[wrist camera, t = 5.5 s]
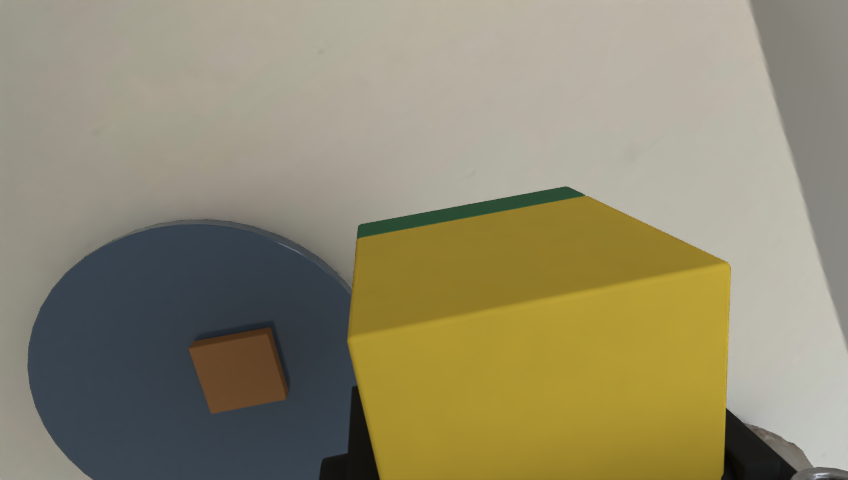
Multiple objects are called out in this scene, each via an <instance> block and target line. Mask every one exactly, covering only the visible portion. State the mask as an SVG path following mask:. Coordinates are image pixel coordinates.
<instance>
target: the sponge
mask: <svg viewBox="0 0 848 480" xmlns="http://www.w3.org/2000/svg"><path fill="white" fill-rule="evenodd" d="M730 278H731V267H730V264H729V263H728V262H726V261H724V260H722V259H720V258H717V257H715V256H713V255H711V254H709V253H707V252H705V251H703V250H701V249H698V248H696V247H694V246H692V245H690V244H688V243H686V242H684V241H682V240H679V239H677V238H675V237H673V236H671V235H669V234H667V233H665V232H663V231H661V230H658V229H656V228H654V227H652V226H650V225H648V224H646V223H644V222H642V221H639V220H637V219H635V218H633V217H631V216H629V215H627V214H625V213H623V212H620V211H618V210H616V209H614V208H612V207H610V206H608V205H606V204H604V203H601V202H599V201H597V200H595V199H593V198H591V197H589V196H585V195H584V194H582V193H580V192H578V191H576V190H574V189H572V188H569V187H560V188H555V189H549V190H544V191H538V192H533V193H528V194H522V195H517V196H511V197H506V198H501V199H495V200H490V201H484V202H479V203H474V204H468V205H463V206H457V207H452V208H447V209H441V210H436V211H430V212H425V213H419V214H414V215H409V216H403V217H398V218H392V219H387V220H382V221H376V222H371V223H365V224H361V225H359V226H358V233H357V242H356V252H355V263H354V274H353V284H352V295H351V306H350V316H349V327H348V338H347V343H348V347H349V352H350V356H351V360H352V364H353V368H354V373H355V377H356V381H357V385H358V389H359V394H360V398H361V402H362V406H363V410H364V415H365V419H366V423H367V427H368V431H369V436H370V440H371V444H372V448H373V452H374V457H375V461H376V465H377V469H378V473H379V478H380V480H721V477H722V475H723V474H724V446H725V418H726V390H727V362H728V334H729V306H730Z"/></svg>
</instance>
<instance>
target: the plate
mask: <svg viewBox="0 0 848 480" xmlns="http://www.w3.org/2000/svg"><path fill="white" fill-rule="evenodd" d="M351 295H352V289H351V288H350V287H349V285H348V284H347V283H346V282H345V281H344V280H343V279H342V278H341V277H340V276H339V275H338V273H337V272H336V271H334V270H333V269H332V268H331V267H330V266H328V265H327V264H326V263H325V262H324V261H323V260H321V259H320V258H319V257H317V256H316V255H314V254H313V253H311V252H310V251H308V250H307V249H305V248H303V247H302V246H300V245H298V244H296V243H294V242H292V241H290V240H288V239H286V238H284V237H282V236H280V235H278V234H275V233H272V232H269V231H266V230H263V229H260V228H257V227H254V226H249V225H244V224H240V223H235V222H229V221H218V220H208V219H205V220H180V221H173V222H166V223H160V224H155V225H152V226H148V227H145V228H141V229H138V230H135V231H132V232H130V233H128V234H125V235H123V236H121V237H119V238H116V239H114V240H112V241H110V242H109V243H107V244H105V245H104V246H102V247H100V248H99V249H97V250H96V251H94V252H92V253H91V254H89V255H87V256H86V257H84V258H83V259H82V260H81V261H79V262H78V263H77V264H76V265H75V266H73V267H72V268H71V269H70V270H69V271H68V272H67V273H66V274H65V275H64V276H63V277H62V278H61V279H60V281H59V282H58V283H57V284H56V285H55V286H54V287H53V289H52V290H51V292H50V293H49V295H48V297H47V298H46V300H45V301H44V303H43V305H42V306H41V308H40V311H39V313H38V316H37V318H36V321H35V323H34V326H33V329H32V334H31V338H30V343H29V348H28V375H29V384H30V389H31V393H32V396H33V400H34V403H35V407H36V409H37V411H38V414H39V416H40V418H41V420H42V422H43V425H44V426H45V428H46V429H47V431H48V433H49V434H50V436H51V437H52V439H53V440H54V442H55V443H56V445H57V446H58V447H59V448H60V449H61V450H62V452H63V453H64V454H65V455H66V456H67V458H68V459H69V460H70V461H71V462H73V463H74V464H75V465H76V466H77V467H78V468H79V469H80V470H81V471H82V472H83V473H85V474H86V475H87V476H89V477H90V478H92V479H93V480H319V475H320V467H321V463H322V460H323V458H326V457H331V456H336V455H341V454H345V453H348V439H349V424H350V408H351V392H352V387H353V386H357V381H356V377H355V373H354V368H353V364H352V360H351V356H350V352H349V347H348V343H347V338H348V327H349V316H350V306H351ZM268 327H270V328H271V331H272V334H273V338H274V341H275V345H276V348H277V352H278V355H279V359H280V362H281V366H282V370H283V373H284V377H285V380H286V384H287V387H288V395H287V398H286V399H285V400H281V401H275V402H270V403H265V404H260V405H255V406H250V407H245V408H239V409H234V410H229V411H224V412H219V413H214V414H211V412H210V409H209V406H208V403H207V401H206V398H205V395H204V392H203V389H202V386H201V383H200V380H199V378H198V375H197V372H196V369H195V366H194V363H193V360H192V358H191V355H190V352H189V347H190V346H191V344H192V343H193V342H194V341H198V340H203V339H209V338H214V337H219V336H225V335H230V334H236V333H241V332H246V331H252V330H257V329H263V328H268Z"/></svg>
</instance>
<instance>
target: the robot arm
mask: <svg viewBox="0 0 848 480" xmlns="http://www.w3.org/2000/svg"><path fill="white" fill-rule="evenodd" d="M319 480H380V478H379V473H378V469H377V465H376V461H375V457H374V452H373V448H372V444H371V440H370V436H369V431H368V427H367V423H366V419H365V415H364V410H363V406H362V402H361V398H360V394H359V389H358V385H357V386H353V387H352V392H351V408H350V424H349V439H348V453H345V454H341V455H336V456H331V457H326V458H323V460H322V463H321V467H320V475H319ZM721 480H848V471H844V470H840V469H836V468H824V467H816V468H809V469H804V470H802V471H800V472H798V471H797V470H795V469H794V468H793V467H792V466H791V465H790V464H789V463H788V462H786V461H785V460H784V459H783V458H782V457H781V456H780V455H779V454H777V453H776V452H775V451H774V450H773V449H772V448H771V447H770V446H768V445H767V444H766V443H765V442H764V441H763V440H762V439H760V438H759V437H758V436H757V435H756V434H755V433H754V432H753V431H751V430H750V429H749V428H748V427H747V426H746V425H745V424H744V423H742V422H741V421H740V420H739V419H738V418H737V417H736V416H735V415H733V414H732V413H731V412H730V411H729V410H728V409H727V408H726V418H725V446H724V474H723V475H722V477H721Z"/></svg>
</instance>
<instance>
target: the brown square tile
mask: <svg viewBox="0 0 848 480" xmlns="http://www.w3.org/2000/svg"><path fill="white" fill-rule="evenodd" d="M189 352H190V355H191V358H192V360H193V363H194V366H195V369H196V372H197V375H198V378H199V380H200V383H201V386H202V389H203V392H204V395H205V398H206V401H207V403H208V406H209V409H210V412H211V414H214V413H219V412H224V411H229V410H234V409H239V408H245V407H250V406H255V405H260V404H265V403H270V402H275V401H281V400H285V399H286V398H287V395H288V387H287V384H286V380H285V377H284V373H283V370H282V366H281V362H280V359H279V355H278V352H277V348H276V345H275V341H274V338H273V334H272V331H271V328H270V327H268V328H263V329H257V330H252V331H246V332H241V333H236V334H230V335H225V336H219V337H214V338H209V339H203V340H198V341H194V342H193V343H192V344H191V346H190V347H189Z"/></svg>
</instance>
